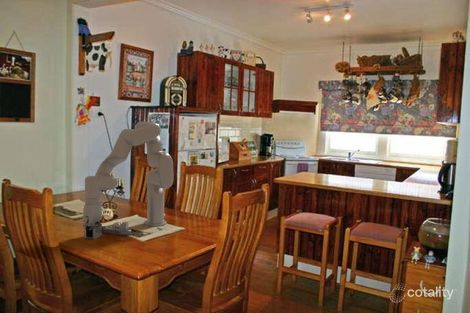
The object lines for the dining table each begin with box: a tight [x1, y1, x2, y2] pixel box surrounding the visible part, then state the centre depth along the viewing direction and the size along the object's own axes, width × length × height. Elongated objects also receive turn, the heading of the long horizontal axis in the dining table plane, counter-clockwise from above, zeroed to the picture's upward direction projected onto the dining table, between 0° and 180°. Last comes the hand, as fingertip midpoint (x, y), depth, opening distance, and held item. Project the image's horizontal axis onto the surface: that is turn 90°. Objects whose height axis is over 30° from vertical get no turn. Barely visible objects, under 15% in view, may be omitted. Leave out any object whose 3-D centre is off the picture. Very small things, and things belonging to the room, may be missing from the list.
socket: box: [83, 223, 103, 240], centre depth 192 cm, size 6×6×6 cm
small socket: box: [113, 221, 122, 229], centre depth 205 cm, size 4×4×4 cm
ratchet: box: [102, 221, 133, 237], centre depth 199 cm, size 6×24×6 cm, turn 77°
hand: (93, 234), depth 192 cm, fingers closed on socket, 6 cm apart
